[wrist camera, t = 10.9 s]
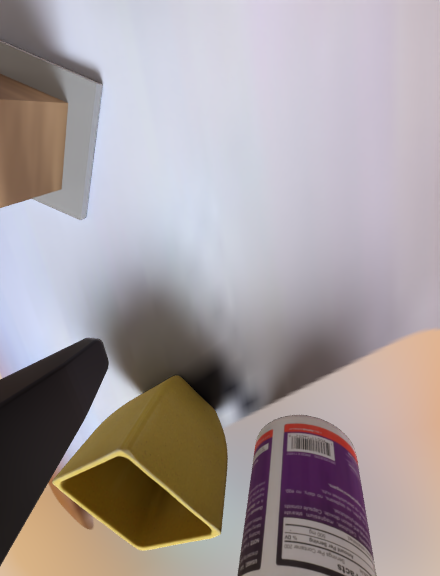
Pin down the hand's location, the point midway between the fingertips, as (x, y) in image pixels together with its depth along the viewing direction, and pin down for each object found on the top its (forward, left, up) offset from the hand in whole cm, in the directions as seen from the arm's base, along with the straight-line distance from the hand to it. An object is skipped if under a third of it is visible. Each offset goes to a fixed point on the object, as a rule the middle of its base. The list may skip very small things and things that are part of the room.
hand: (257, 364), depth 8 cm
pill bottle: (-2, +19, -12) cm, 23 cm away
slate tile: (+15, -6, -12) cm, 20 cm away
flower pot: (+9, +16, -12) cm, 22 cm away
